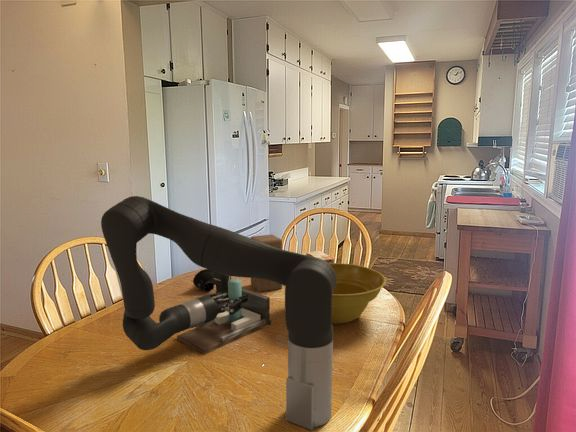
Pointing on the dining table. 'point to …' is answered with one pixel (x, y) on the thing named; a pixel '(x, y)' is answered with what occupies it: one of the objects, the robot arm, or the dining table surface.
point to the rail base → (228, 326)
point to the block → (264, 283)
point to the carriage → (246, 320)
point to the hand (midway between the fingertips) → (241, 296)
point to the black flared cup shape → (204, 280)
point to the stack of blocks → (320, 256)
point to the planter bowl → (353, 291)
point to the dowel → (235, 292)
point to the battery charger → (221, 282)
